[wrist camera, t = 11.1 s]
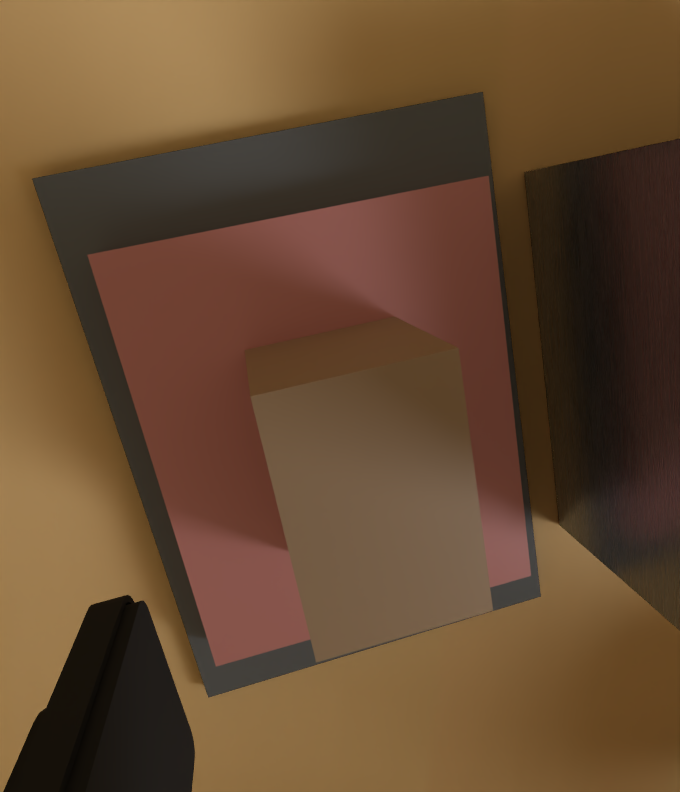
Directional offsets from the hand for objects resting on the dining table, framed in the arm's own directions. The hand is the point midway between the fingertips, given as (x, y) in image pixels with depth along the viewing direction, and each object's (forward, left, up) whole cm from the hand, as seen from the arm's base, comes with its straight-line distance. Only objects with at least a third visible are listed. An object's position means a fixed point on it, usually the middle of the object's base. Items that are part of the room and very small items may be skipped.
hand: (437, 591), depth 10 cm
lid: (0, 0, -8) cm, 8 cm away
